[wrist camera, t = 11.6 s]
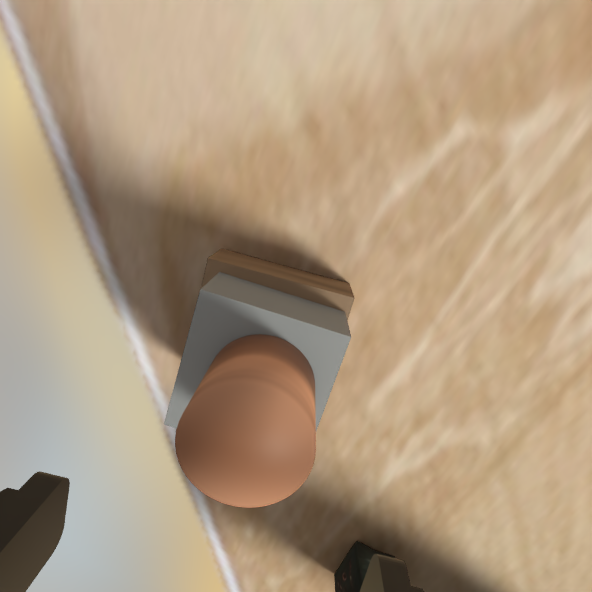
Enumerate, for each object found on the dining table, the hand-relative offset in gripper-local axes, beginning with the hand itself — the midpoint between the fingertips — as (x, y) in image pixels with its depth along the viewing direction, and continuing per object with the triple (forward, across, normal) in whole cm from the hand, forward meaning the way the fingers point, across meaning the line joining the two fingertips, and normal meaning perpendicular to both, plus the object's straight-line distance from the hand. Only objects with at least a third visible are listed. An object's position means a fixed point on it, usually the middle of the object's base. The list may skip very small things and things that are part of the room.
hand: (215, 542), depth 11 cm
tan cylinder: (+9, 0, 0) cm, 9 cm away
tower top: (+13, 0, 0) cm, 13 cm away
